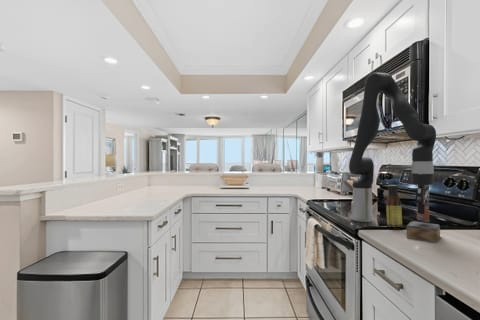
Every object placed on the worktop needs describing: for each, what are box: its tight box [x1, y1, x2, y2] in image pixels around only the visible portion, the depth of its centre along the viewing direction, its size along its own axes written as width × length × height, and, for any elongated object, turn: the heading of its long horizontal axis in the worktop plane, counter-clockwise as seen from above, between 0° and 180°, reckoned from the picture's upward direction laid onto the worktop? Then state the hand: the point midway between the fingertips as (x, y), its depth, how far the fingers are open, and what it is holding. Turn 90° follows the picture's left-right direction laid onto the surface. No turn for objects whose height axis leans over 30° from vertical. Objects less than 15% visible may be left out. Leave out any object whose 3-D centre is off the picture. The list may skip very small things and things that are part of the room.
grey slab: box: [405, 221, 441, 243], centre depth 110 cm, size 10×10×5 cm
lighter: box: [416, 198, 431, 223], centre depth 110 cm, size 8×3×10 cm, turn 164°
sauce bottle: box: [385, 184, 403, 228], centre depth 126 cm, size 6×6×20 cm
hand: (422, 212), depth 110 cm, fingers closed on lighter, 7 cm apart
